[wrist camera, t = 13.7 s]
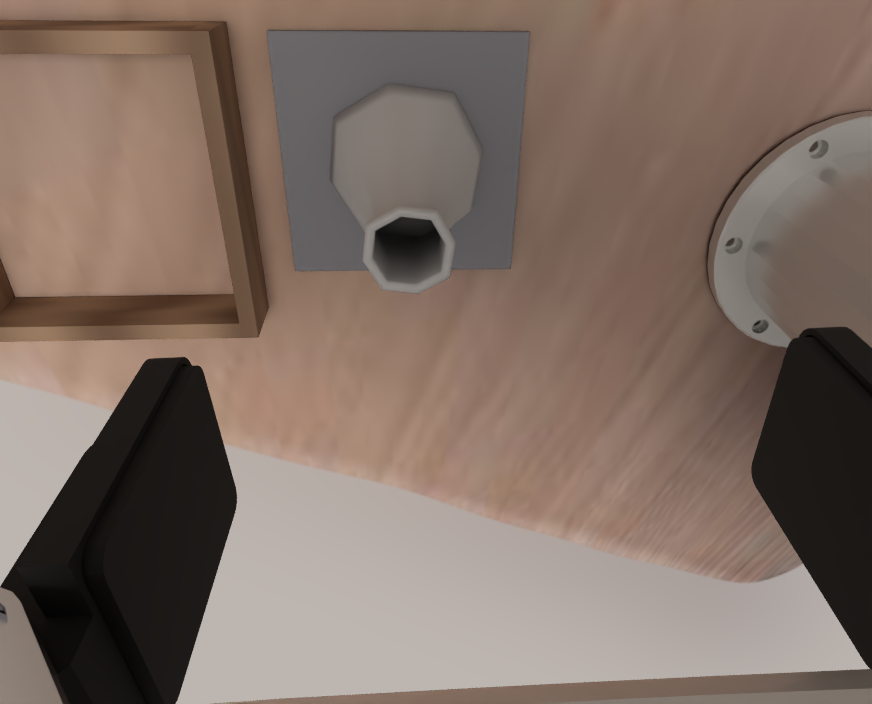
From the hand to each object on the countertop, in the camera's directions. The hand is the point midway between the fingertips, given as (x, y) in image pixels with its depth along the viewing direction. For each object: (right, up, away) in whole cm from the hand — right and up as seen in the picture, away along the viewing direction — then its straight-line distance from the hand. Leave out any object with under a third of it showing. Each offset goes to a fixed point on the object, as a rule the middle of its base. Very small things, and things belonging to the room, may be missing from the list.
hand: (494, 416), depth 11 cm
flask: (-2, +10, +20) cm, 22 cm away
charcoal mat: (-3, +10, +20) cm, 23 cm away
